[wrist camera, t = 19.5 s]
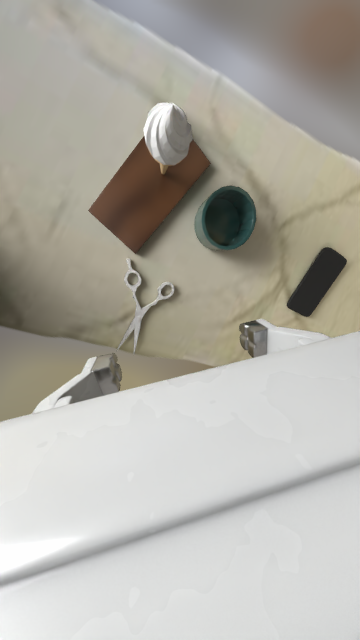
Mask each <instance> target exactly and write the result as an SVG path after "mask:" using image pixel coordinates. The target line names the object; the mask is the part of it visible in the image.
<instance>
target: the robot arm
mask: <svg viewBox="0 0 360 640" xmlns="http://www.w3.org/2000/svg"><path fill="white" fill-rule="evenodd" d="M239 331H240V332H241V335H240V343H241V345H242V347H243V348H244V349H245V350H248V353H249V354H250V355H251V356H252V357H253V358H251V359H247V360H243V361H239V362H235V363H231V364H227V365H223V366H219V367H215V368H211V369H207V370H204V371H199V372H196V373H191V374H188V375H184V376H180V377H176V378H172V379H168V380H164V381H160V382H156V383H152V384H148V385H144V386H140V387H136V388H132V389H128V390H124V391H120V392H119V390H120V381H121V379H122V372H121V368H120V365H119V364H117V356H116V354H115V353H112V354H107V355H102V356H97V357H93V358H89V359H88V361H87V362H86V364H85V367H84V368H83V370H82V372H81V374H78V375H77V376H75V377H74V378H72V379H71V380H70V381H68V382H67V383H66V384H64V385H63V386H62V387H60V388H59V389H57V390H56V391H55V392H53V393H52V394H51V395H49V396H48V397H46V398H45V399H44V400H42V401H41V402H40V403H39V404H38V405H37V407H36V408H35V410H34V411H33V413H32V414H30V415H25V416H21V417H17V418H13V419H9V420H6V421H2V422H0V640H360V331H358V332H354V333H350V334H346V335H342V336H338V337H334V338H330V337H328V336H326V335H324V334H322V333H317V332H311V331H304V330H298V329H291V328H285V327H276V326H274V325H273V324H271V323H269V322H268V321H266V320H264V319H258V320H254V321H250V322H246V323H242V324H240V326H239Z"/></svg>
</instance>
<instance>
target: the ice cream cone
mask: <svg viewBox="0 0 360 640" xmlns="http://www.w3.org/2000/svg"><path fill="white" fill-rule="evenodd" d="M144 135H145V141H146V145H147V147H148V149H149V152H150V154H151V155H152V156H153V158H154V159H155V160H156V161H157V162H158V163H160V168H161V173H162V174H165V172H166V170H167V168H168V166H173V165H176V164H178V163H180V162H181V161H182V160H183V159H184V158H185V157H186V156H187V154H188V150H189V144H190V142H191V141H192V130H191V125H190V124H189V123H188V122H187V117H186V115H185V113H184V111H183V110H182V109H181V108H179V107H178V106H177V105H175V104H173V103H166V102H165V103H158V104H157V105H156V106H155V107H153V108H152V109H151V110H150V111H149V112H148V116H147V122H146V124H145V126H144Z"/></svg>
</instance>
